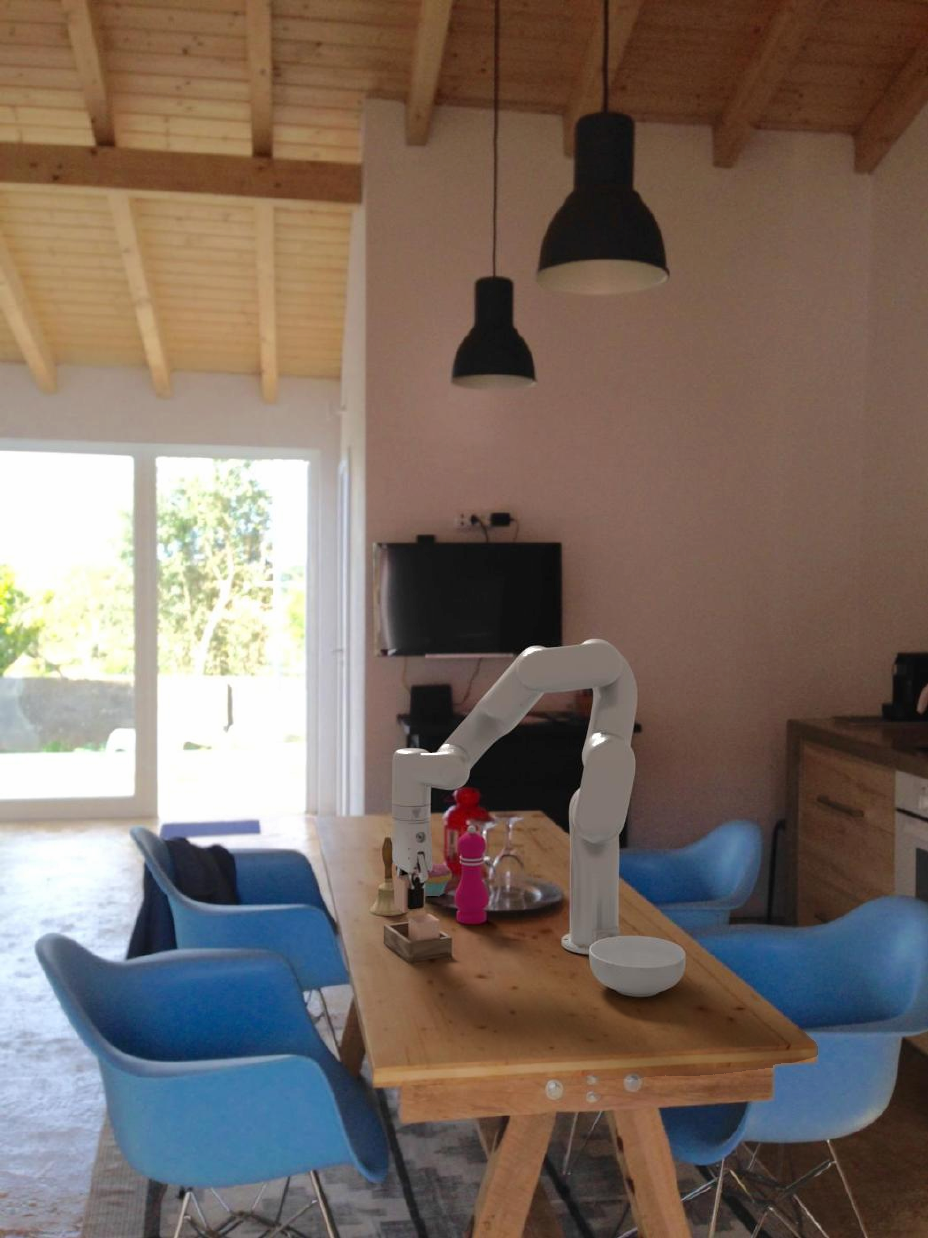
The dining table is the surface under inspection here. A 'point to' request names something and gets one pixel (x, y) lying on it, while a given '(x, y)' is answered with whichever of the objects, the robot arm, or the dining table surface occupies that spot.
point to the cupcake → (437, 879)
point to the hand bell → (386, 886)
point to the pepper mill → (471, 879)
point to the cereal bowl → (637, 964)
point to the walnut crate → (416, 943)
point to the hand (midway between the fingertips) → (410, 904)
